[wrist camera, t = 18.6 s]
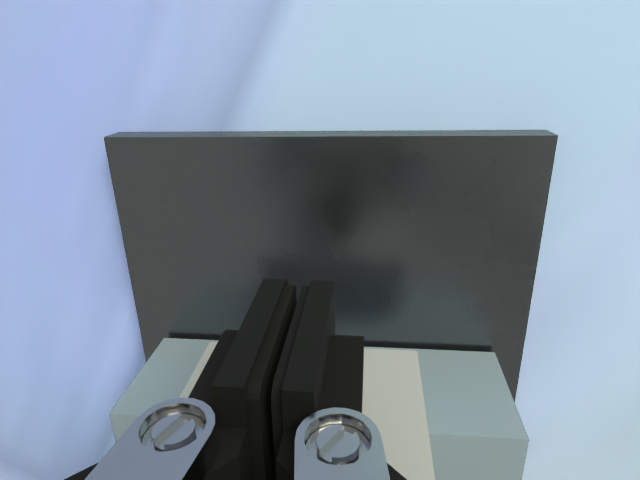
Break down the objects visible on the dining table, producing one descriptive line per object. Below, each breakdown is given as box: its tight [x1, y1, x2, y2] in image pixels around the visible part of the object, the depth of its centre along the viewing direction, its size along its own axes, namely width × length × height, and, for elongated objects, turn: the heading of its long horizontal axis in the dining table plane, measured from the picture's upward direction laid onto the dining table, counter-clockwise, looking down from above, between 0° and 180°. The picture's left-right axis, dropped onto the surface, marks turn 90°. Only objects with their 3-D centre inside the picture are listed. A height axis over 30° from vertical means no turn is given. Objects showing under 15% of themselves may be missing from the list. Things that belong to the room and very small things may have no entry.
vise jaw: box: [109, 338, 529, 480], centre depth 13 cm, size 12×6×9 cm, turn 91°
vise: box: [104, 130, 558, 402], centre depth 17 cm, size 14×20×5 cm
